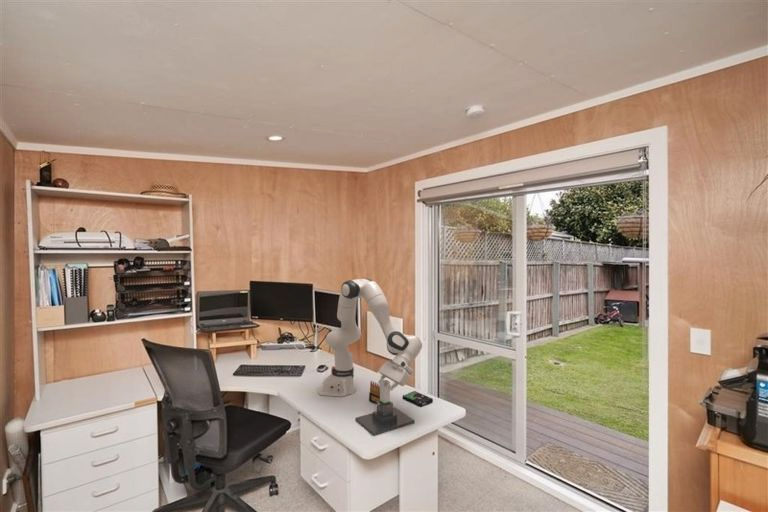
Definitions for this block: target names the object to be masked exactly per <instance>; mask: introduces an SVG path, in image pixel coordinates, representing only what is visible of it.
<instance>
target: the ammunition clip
mask: <svg viewBox="0 0 768 512" xmlns="http://www.w3.org/2000/svg"><path fill="white" fill-rule="evenodd" d="M368 401H369V403H372V404H375V405H377V401H380V383H378V382H376V381H372V380H370V384H369V393H368Z"/></svg>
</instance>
